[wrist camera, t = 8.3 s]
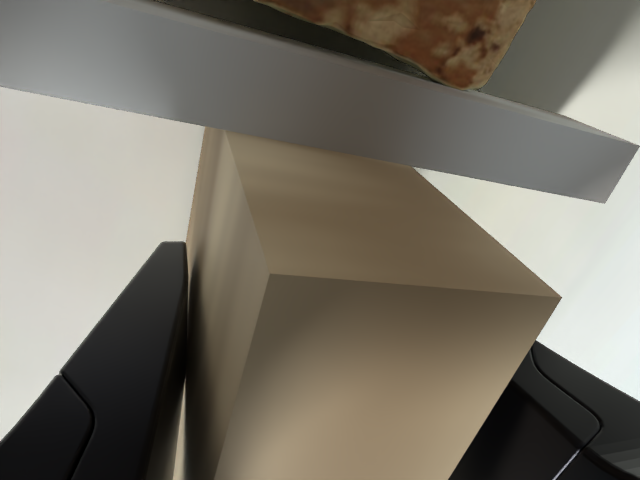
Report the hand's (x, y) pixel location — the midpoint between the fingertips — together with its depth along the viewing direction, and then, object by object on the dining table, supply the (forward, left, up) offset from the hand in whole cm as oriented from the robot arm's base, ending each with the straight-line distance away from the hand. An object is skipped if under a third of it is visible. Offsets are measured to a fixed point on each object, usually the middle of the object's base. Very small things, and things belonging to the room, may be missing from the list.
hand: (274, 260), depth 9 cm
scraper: (0, -1, -2) cm, 2 cm away
